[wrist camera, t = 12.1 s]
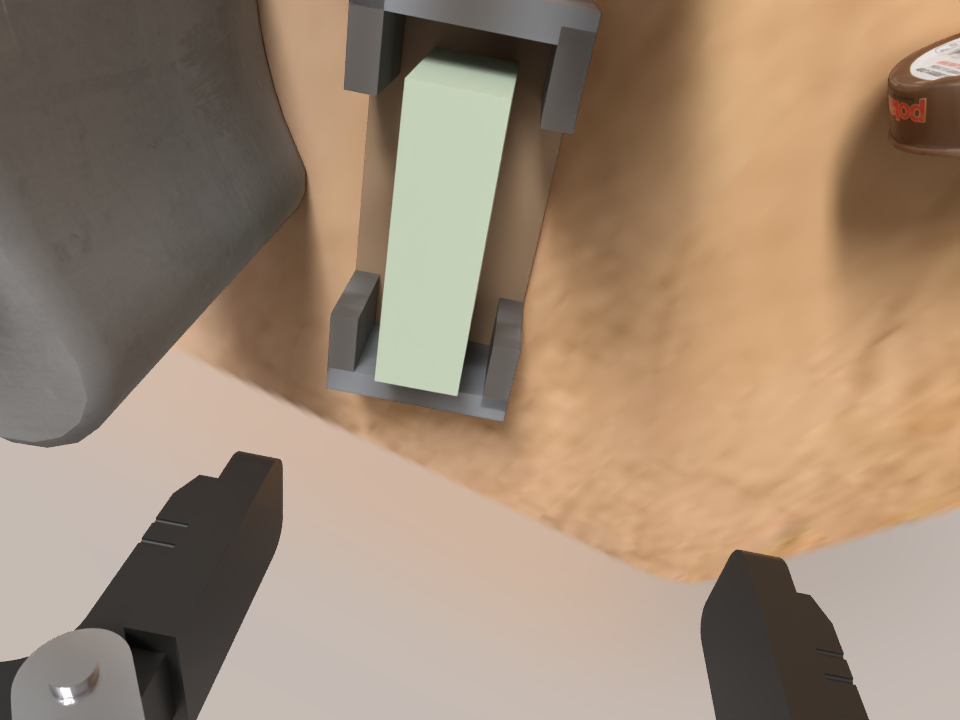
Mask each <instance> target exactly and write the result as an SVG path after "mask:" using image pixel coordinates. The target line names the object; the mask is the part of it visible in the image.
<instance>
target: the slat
mask: <svg viewBox="0 0 960 720" xmlns="http://www.w3.org/2000/svg"><path fill="white" fill-rule="evenodd" d="M518 68H519V63H516V62H511V61H506V60H500V59H495V58H490V57H485V56H480V55H475V54H470V53H465V52H460V51H454V50H449V49H444V48H439V47H434V49H433V50H432V51H431V52H430V53H429V54H428V55H427V56H426V57H425V58H424V59H423V60H422V61H421V62H420V63H419V64H418V65H417V66H416V67H415V68H414V69H413V70H412V71H411V72H410V73H409V74H408V76H407V77H406V78H405V82H404V91H403V101H402V111H401V121H400V131H399V141H398V151H397V161H396V171H395V181H394V191H393V201H392V211H391V221H390V231H389V241H388V251H387V261H386V271H385V281H384V291H383V301H382V311H381V321H380V331H379V341H378V351H377V361H376V371H375V381H378V382H384V383H389V384H394V385H400V386H405V387H410V388H416V389H421V390H427V391H432V392H437V393H443V394H448V395H453V396H457V395H458V390H459V384H460V379H461V374H462V369H463V364H464V359H465V354H466V348H467V343H468V338H469V333H470V328H471V323H472V318H473V312H474V307H475V302H476V296H477V291H478V285H479V280H480V274H481V269H482V264H483V258H484V253H485V247H486V242H487V236H488V231H489V226H490V220H491V215H492V209H493V204H494V199H495V193H496V188H497V182H498V177H499V171H500V166H501V161H502V155H503V150H504V144H505V139H506V133H507V128H508V123H509V117H510V112H511V106H512V101H513V96H514V90H515V85H516V79H517V74H518Z"/></svg>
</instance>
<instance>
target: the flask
mask: <svg viewBox="0 0 960 720" xmlns="http://www.w3.org/2000/svg"><path fill="white" fill-rule="evenodd" d="M305 191H306V186H305V168H304V166H303V163H302V161H301V158H300V156H299V153H298V151H297V148H296V146H295V143H294V141H293V139H292V136H291V134H290V132H289V129H288V127H287V124H286V122H285V120H284V117H283V115H282V112H281V109H280V106H279V103H278V100H277V96H276V93H275V90H274V87H273V84H272V80H271V76H270V72H269V68H268V64H267V60H266V56H265V52H264V47H263V41H262V36H261V30H260V25H259V19H258V11H257V3H256V0H0V437H2V438H4V439H6V440H9V441H11V442H15V443H21V444H27V445H34V446H40V447H47V448H48V447H54V446H60V445H66V444H72V443H78V442H79V441H81V440H82V439H84V438H85V437H86V436H88V435H89V434H91V433H92V432H93V431H95V430H96V429H98V428H99V427H100V426H101V425H102V423H104V421H105V420H106V419H107V418H108V417H109V416H110V415H111V414H112V413H113V411H114V410H115V409H116V408H117V407H118V406H119V404H121V403H122V401H123V400H124V399H125V398H126V397H127V396H128V395H129V394H130V392H131V391H132V390H133V389H134V388H135V387H136V386H137V384H139V382H140V381H141V380H142V379H143V378H144V377H145V376H146V375H147V374H148V373H149V372H150V370H151V369H152V368H153V367H154V366H155V365H156V364H157V362H159V360H160V359H161V358H162V357H163V356H164V355H165V354H166V353H167V352H168V350H169V349H170V348H171V347H172V346H173V345H174V344H175V343H176V342H177V341H178V339H179V338H180V337H181V336H182V335H183V334H184V333H185V332H186V331H187V329H188V328H189V327H190V326H191V325H192V324H193V323H194V322H195V321H196V319H197V318H198V317H199V316H200V315H201V314H202V313H203V312H204V311H205V310H206V308H207V307H208V306H209V305H210V304H211V303H212V302H213V301H214V300H215V298H216V297H217V296H218V295H219V294H220V293H221V292H222V291H223V290H224V288H225V287H226V286H227V285H228V284H229V283H230V282H231V281H232V280H233V278H234V277H235V276H236V275H237V274H238V273H239V272H240V271H241V270H242V269H243V267H244V266H245V265H246V264H247V263H248V262H249V261H250V260H251V259H252V257H253V256H254V255H255V254H256V253H257V252H258V251H259V250H260V249H261V247H262V246H263V245H264V244H265V243H266V242H267V241H268V240H269V239H270V237H271V236H272V235H273V234H274V233H275V232H276V231H277V230H278V229H279V228H280V226H281V225H282V224H283V223H284V222H285V221H286V220H287V219H288V218H289V216H290V215H291V214H292V213H293V212H294V211H295V210H296V209H297V208H298V206H299V204H300V202H301V200H302V197H303V195H304V193H305Z"/></svg>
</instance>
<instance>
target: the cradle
mask: <svg viewBox="0 0 960 720" xmlns="http://www.w3.org/2000/svg"><path fill="white" fill-rule="evenodd" d="M600 17H601V12H600V11H599V9H598V7H597V6H596V4H595V3H594V1H593V0H349V11H348V28H347V45H346V62H345V79H344V90H349V91H354V92H359V93H364V94H369V95H370V96H369V109H368V122H367V134H366V147H365V160H364V173H363V185H362V198H361V211H360V224H359V236H358V249H357V262H356V270H355V272H354V274H353V276H352V278H351V279H350V281H349V283H348V285H347V286H346V288H345V290H344V292H343V293H342V295H341V297H340V299H339V301H338V302H337V304H336V306H335V308H334V309H333V311H332V313H331V318H330V335H329V352H328V370H327V387H326V388H327V389H333V390H338V391H343V392H349V393H354V394H359V395H365V396H370V397H375V398H380V399H386V400H391V401H396V402H402V403H407V404H412V405H417V406H423V407H428V408H433V409H439V410H444V411H449V412H455V413H460V414H465V415H470V416H476V417H481V418H486V419H492V420H497V421H502V422H503V421H504V417H505V412H506V408H507V404H508V400H509V396H510V392H511V387H512V383H513V379H514V375H515V371H516V367H517V362H518V358H519V354H520V349H521V333H522V318H523V303H524V298H525V294H526V289H527V285H528V281H529V277H530V272H531V268H532V264H533V259H534V255H535V251H536V246H537V242H538V238H539V234H540V229H541V225H542V221H543V216H544V212H545V208H546V203H547V199H548V195H549V191H550V186H551V182H552V178H553V173H554V169H555V165H556V160H557V156H558V152H559V148H560V143H561V139H562V135H563V133H567V134H572V133H573V129H574V125H575V121H576V117H577V113H578V108H579V104H580V100H581V96H582V92H583V88H584V83H585V79H586V75H587V71H588V67H589V63H590V58H591V54H592V50H593V46H594V42H595V38H596V33H597V29H598V25H599V21H600ZM434 47H439V48H444V49H449V50H454V51H460V52H465V53H470V54H475V55H480V56H485V57H490V58H495V59H500V60H506V61H511V62H516V63H519V68H518V74H517V79H516V85H515V90H514V96H513V101H512V106H511V112H510V117H509V123H508V128H507V133H506V139H505V144H504V150H503V155H502V161H501V166H500V171H499V177H498V182H497V188H496V193H495V199H494V204H493V209H492V215H491V220H490V226H489V231H488V236H487V242H486V247H485V253H484V258H483V264H482V269H481V274H480V280H479V285H478V291H477V296H476V302H475V307H474V312H473V318H472V323H471V328H470V333H469V338H468V343H467V348H466V354H465V359H464V364H463V369H462V374H461V379H460V384H459V390H458V395H457V396H453V395H448V394H443V393H437V392H432V391H427V390H421V389H416V388H410V387H405V386H400V385H394V384H389V383H384V382H378V381H375V371H376V361H377V351H378V341H379V331H380V321H381V311H382V301H383V291H384V281H385V271H386V261H387V251H388V241H389V231H390V221H391V211H392V201H393V191H394V181H395V171H396V161H397V151H398V141H399V131H400V121H401V111H402V101H403V91H404V82H405V78H406V77H407V76H408V74H409V73H410V72H411V71H412V70H413V69H414V68H415V67H416V66H417V65H418V64H419V63H420V62H421V61H422V60H423V59H424V58H425V57H426V56H427V55H428V54H429V53H430V52H431V51H432V50H433V49H434Z"/></svg>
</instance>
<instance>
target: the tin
mask: <svg viewBox="0 0 960 720" xmlns="http://www.w3.org/2000/svg"><path fill="white" fill-rule="evenodd" d="M888 101H889V113H890V124H891V128H890V130H889V133H888V139H889V142H890V143H891V144H892V145H893V146H894V147H895V148H897V149H899V150H902V151H905V152H908V153H913V154H918V155H929V156H949V157H950V156H960V33H959V34H956V35H953V36H951V37H948V38H946V39H943V40H941V41H938V42H935V43H933V44H931V45H929V46H926V47H924V48H922V49H920V50H918V51H916V52H914V53H912V54H911V55H909V56H908V57H906V58H904V59H903V60H902V61H900V62H899V63H898V64H897V65H896V66H895V67H894V68H893V69H892V71H891V73H890V75H889V78H888Z"/></svg>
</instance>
